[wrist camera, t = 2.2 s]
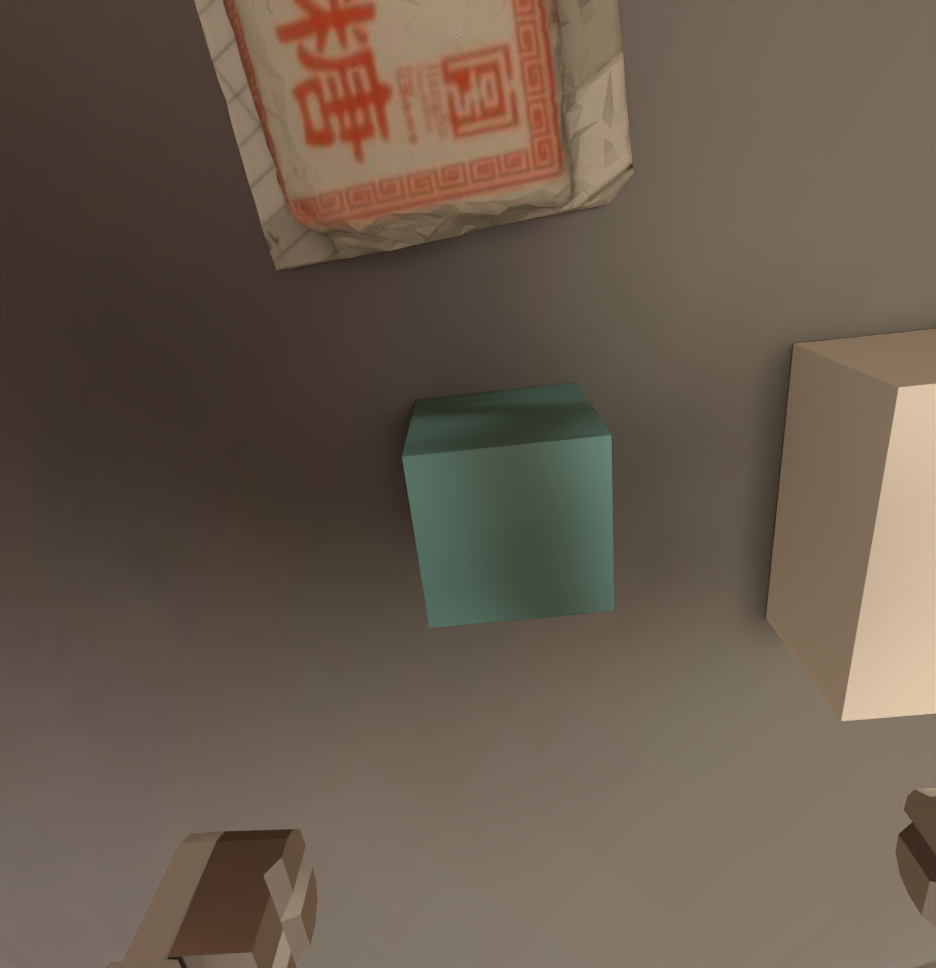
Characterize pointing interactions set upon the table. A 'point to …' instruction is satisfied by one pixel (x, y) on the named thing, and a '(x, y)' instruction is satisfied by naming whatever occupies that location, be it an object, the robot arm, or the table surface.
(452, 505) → the teal cube
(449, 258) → the table surface
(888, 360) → the base block
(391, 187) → the packaged product
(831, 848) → the table surface
